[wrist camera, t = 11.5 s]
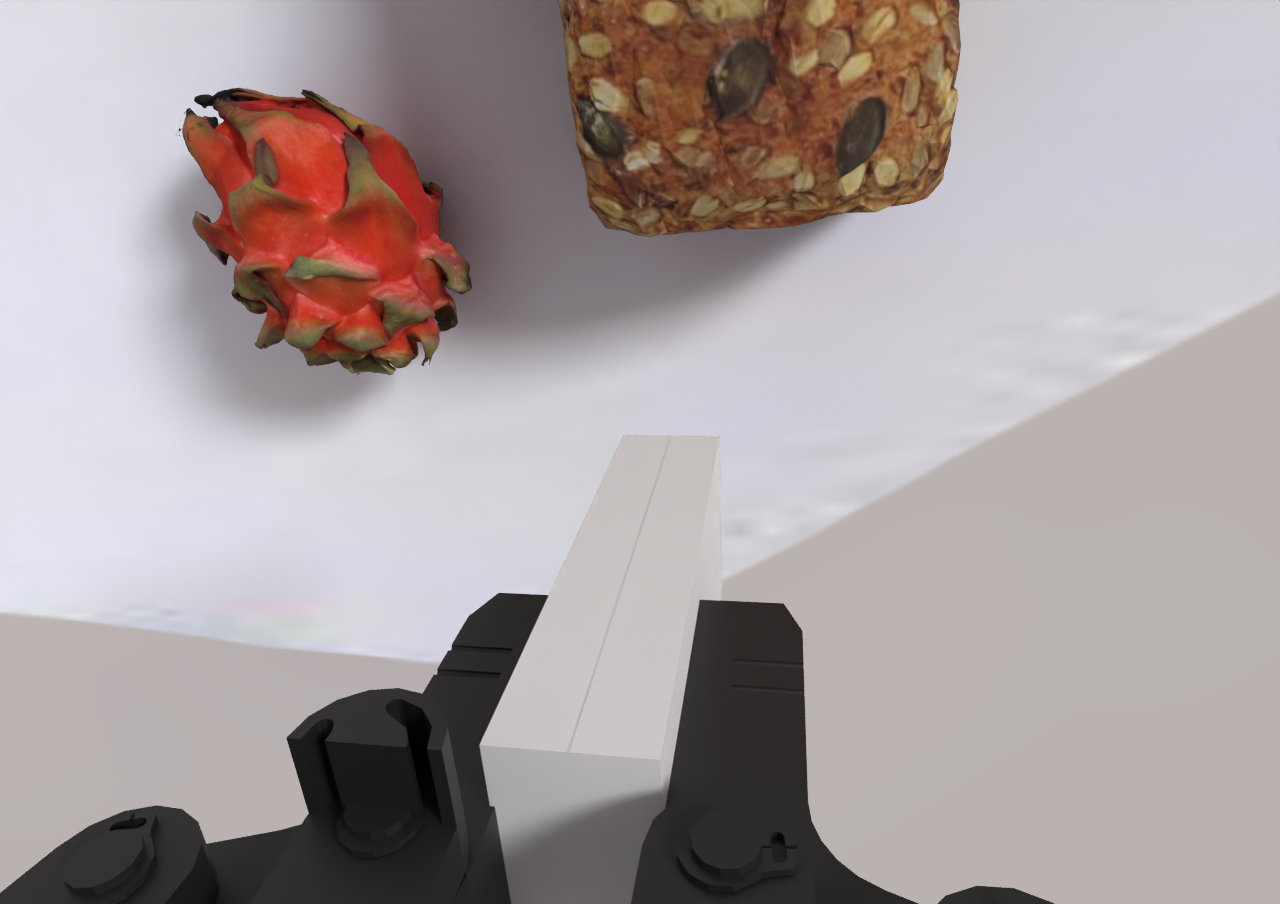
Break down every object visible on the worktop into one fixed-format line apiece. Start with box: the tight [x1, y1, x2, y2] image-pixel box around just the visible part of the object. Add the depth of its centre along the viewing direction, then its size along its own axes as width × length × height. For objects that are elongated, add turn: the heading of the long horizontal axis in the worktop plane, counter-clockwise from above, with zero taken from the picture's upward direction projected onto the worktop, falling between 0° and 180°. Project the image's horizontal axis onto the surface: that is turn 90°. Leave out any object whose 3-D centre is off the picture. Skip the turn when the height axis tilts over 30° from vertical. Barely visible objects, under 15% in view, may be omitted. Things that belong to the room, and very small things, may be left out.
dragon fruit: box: [179, 88, 472, 375], centre depth 29 cm, size 8×8×12 cm
